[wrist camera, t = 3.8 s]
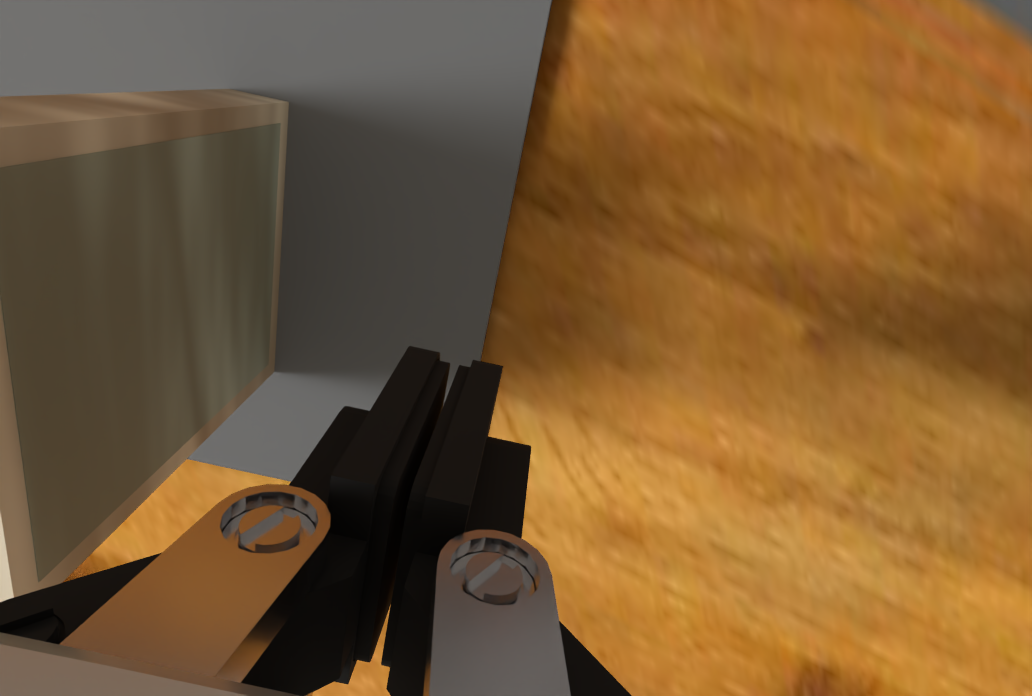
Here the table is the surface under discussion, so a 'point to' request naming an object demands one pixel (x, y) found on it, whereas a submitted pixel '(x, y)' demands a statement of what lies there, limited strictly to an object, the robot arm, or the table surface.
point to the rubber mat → (333, 170)
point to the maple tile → (126, 302)
